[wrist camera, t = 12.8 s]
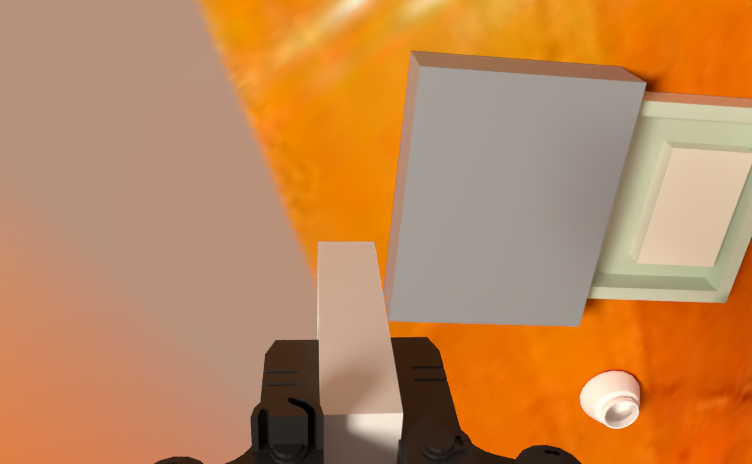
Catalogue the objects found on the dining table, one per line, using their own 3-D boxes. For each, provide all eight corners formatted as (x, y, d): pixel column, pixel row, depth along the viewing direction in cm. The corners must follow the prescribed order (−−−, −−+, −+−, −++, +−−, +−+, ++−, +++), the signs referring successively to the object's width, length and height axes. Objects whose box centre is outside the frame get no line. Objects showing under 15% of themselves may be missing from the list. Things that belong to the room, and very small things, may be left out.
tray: (617, 89, 46) (632, 99, 43) (777, 100, 47) (800, 111, 45) (568, 280, 52) (579, 297, 50) (708, 285, 54) (725, 302, 51)
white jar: (575, 376, 57) (581, 418, 59) (588, 400, 55) (593, 443, 57) (634, 361, 57) (637, 404, 59) (649, 384, 54) (652, 429, 57)
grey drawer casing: (411, 50, 43) (420, 66, 40) (620, 66, 45) (646, 82, 41) (383, 290, 51) (388, 321, 48) (561, 296, 53) (579, 326, 49)
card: (755, 153, 46) (744, 146, 48) (673, 147, 46) (663, 140, 47) (713, 266, 51) (703, 257, 52) (636, 263, 50) (628, 253, 51)
